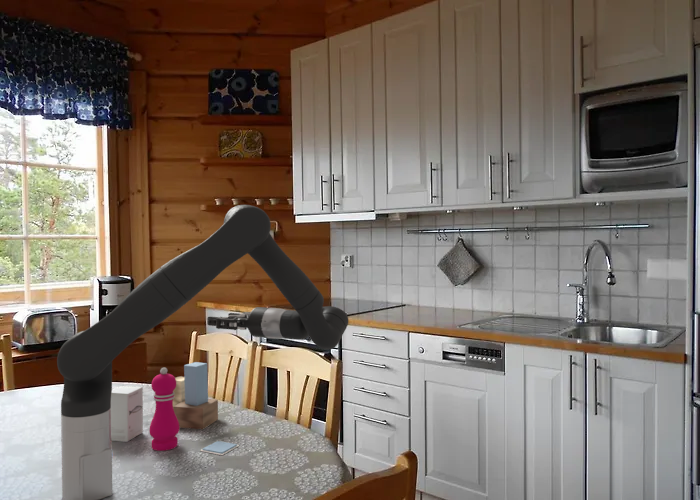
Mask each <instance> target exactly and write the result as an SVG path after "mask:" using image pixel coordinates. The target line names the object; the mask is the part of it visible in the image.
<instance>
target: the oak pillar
mask: <svg viewBox="0 0 700 500" xmlns="http://www.w3.org/2000/svg"><path fill="white" fill-rule="evenodd" d="M175 379H176V388H175V389H174V390H173V392H174V393H175V394H174V396H175V397H174V399H173V407H174V406H175V405H177V404H179V403H181V402H183V401H185V380H184V376H177V377H175Z"/></svg>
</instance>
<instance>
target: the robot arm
mask: <svg viewBox="0 0 700 500" xmlns="http://www.w3.org/2000/svg"><path fill="white" fill-rule="evenodd" d="M271 227H272V224H271V219H270V217H269V215H268V214H267V212H266V211H264V210H263V209H261V208H260V207H257V206H255V205H250V204H240V205H239V204H238V205H236V206H234V207H231V208H230V209H229V210H228V211H227V213H226V214H225V216H224V220H223V224H222V225H221V226H220V227H219V228H218V229H217V230H216V231H214V232H213V234H211V235H210V236H209V237H208V238H206V239H205V240H204V241H203V242H201V243H200V244H198V245H196V246H194V247H192V248H190V249H188V250H187V251H185V252H183V253H181V254H178V255H177V256H175V257H174V258H172V259H170V260H169V261H167V262H166V263H164V264H163V265H161V266H160V267H158V269H156V270H155V271H154V272H152V274H150V275H149V276H147V277H146V278H145V279H144V280H142V282H141V283H139V284H138V285H137V286H136V287H135V288H134V289H132V290H131V292H130V293H129V294H128V295H127V296H126V297H125V298H124V299H122V300H121V302H120V303H119V304H118V305H117V306H116V307H115V308H114V309H113V310H111V312H110V313H108V314H107V315H106V316H105V317H103V318H102V319H100V320H99V321H98V322H96V323H94V324H93V325H92V326H90V327H88V328H87V329H85V330H81V331H79V332H76V333H75V334H73V335H72V336H70V338H68V339H67V340H66V341H65V342H64V343H63V344H62V345H61V346H60V349H59V351H58V352H57V357H56V358H57V359H56V365H57V369H58V372H59V373H60V375H62V377H63V391H62V397H61V401H60V419H61V420H60V424H61V425H60V426H61V428H60V429H61V437H60V439H61V490H62V491H61V493H62V494H61V496H62V500H102V499H104V498H108V497H110V496H112V495H113V449H112V441H111V393H112V389H113V360H114V359H116V357H118V356H119V355H120V354H121V353H122V352H123V351H125V349H126V348H128V346H130V345H131V344H132V343H133V342H134V341H136V340H137V339H138V338H140V337H141V336H143V335H145V334H146V333H147V332H149V331H150V330H152V329H154V328H156V327H157V326H158V325H159V324H161V323H163V322H164V321H165V320H166V319H168V318H169V317H171V316H172V315H173V314H175V313H176V312H177V311H178V310H180V309H181V308H182V307H183V306H185V305H186V304H187V303H188V302H189V301H191V300H192V299H193V298H194V297H195V296H197V295H198V294H199V293H200V292H201V291H203V289H204V288H206V287H207V286H208V285H209V284H210V283H212V281H213V280H215V279H216V278H217V276H218V275H220V274H221V273H222V272H223V271H224V270H225V269H227V268H229V266H231V265H232V264H234V263H235V262H237V261H238V260H240V259H241V258H243V257H244V256H246V255H247V254H248V255H249V256H250V257H251V258H252V259H253V260H254V261H255V262H256V264H258V265H259V266H260V268H261V269H262V270H263V271H264V272H265V273H266V275H267V276H268V277H269V278H270V280H271V281H272V282H273V284H274V285H275V286H276V288H277V290H279V291H280V293H281V294H282V295H283V297H284V298H285V299H286V301H288V303H289V304H290V305H291V307H293V310H291V309H283V308H276V307H262V306H257V307H254V308H252V310H251V311H248V312H241V313H240V312H239V313H237V312H229V313H228V314H227V316H220V317H219V316H208V317H207V318H206V319H207V326H208V327H209V326H210V327H211V326H212V327H215V328H216V329H217V330H232V331H237V330H240V331H244V330H245V331H247V329H248V331H249V334H250V335H251V336H252V337H255V338H263V339H264V338H265V339H275V340H276V339H277V340H281V339H285V340H286V339H288V340H296V341H297V340H298V341H303V340H305V339H307V338H308V337H309V339H310V341H311V342H312V343H314V345H315V346H317V347H318V348H320V349H323V350H326V351H329V350H333V349H335V348H336V347H337V345H338V344H339V342H340V341H341V339H342V337H343V335H344V333H345V332H346V329H347V328H348V325H349V321H350V320H349V317H348V314H347V312H345V311H344V310H342V309H341V308H339V307H336V306H331V305H327V306H324V302H325V300H324V296H323V294H322V293H321V291H320V290H319V288H318V287H317V286H316V285H315V284H314V283H313V282H312V280H311V279H310V278H309V277H308V275H307V274H306V273H305V272H304V271H303V270H302V269H301V268H300V267H299V266H298V265H297V264H296V263H295V262H294V261H293V260H292V259H291V257H289V256H288V255H287V254H286V253H285V252H284V250H282V248H281V247H280V246H279V244H277V242H276V240H275V239H274V237H272V235H271Z"/></svg>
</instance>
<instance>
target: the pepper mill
mask: <svg viewBox="0 0 700 500" xmlns="http://www.w3.org/2000/svg"><path fill="white" fill-rule="evenodd" d="M175 378H176V377H175V376H174V375H173V374H171V373H168V368H167V367H161V368H160V370H159V374H157V375H156V376H154V377H153V379H152V381H151V385H150V386H151V389H152V391H153V392H154V394H153V400H154V402H155V409H154V410H155V411H154V413H153V417H152V419H151V421H150V425H149V435H150V436H151V437H152V440H151V449H152V450H154V451H158V452H161V451H163V452H164V451H169V450H174V449H175V448H177V447H178V445H179V444H178V443H179V442H178V437H177V435H178V433H179V432H180V428H179V422H178V419H177V417H176V415H175V413H174V409H173V399H174V397H175V396H174V394H175V393H174V392H173V390H174V389H175V388H176V379H175Z"/></svg>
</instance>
